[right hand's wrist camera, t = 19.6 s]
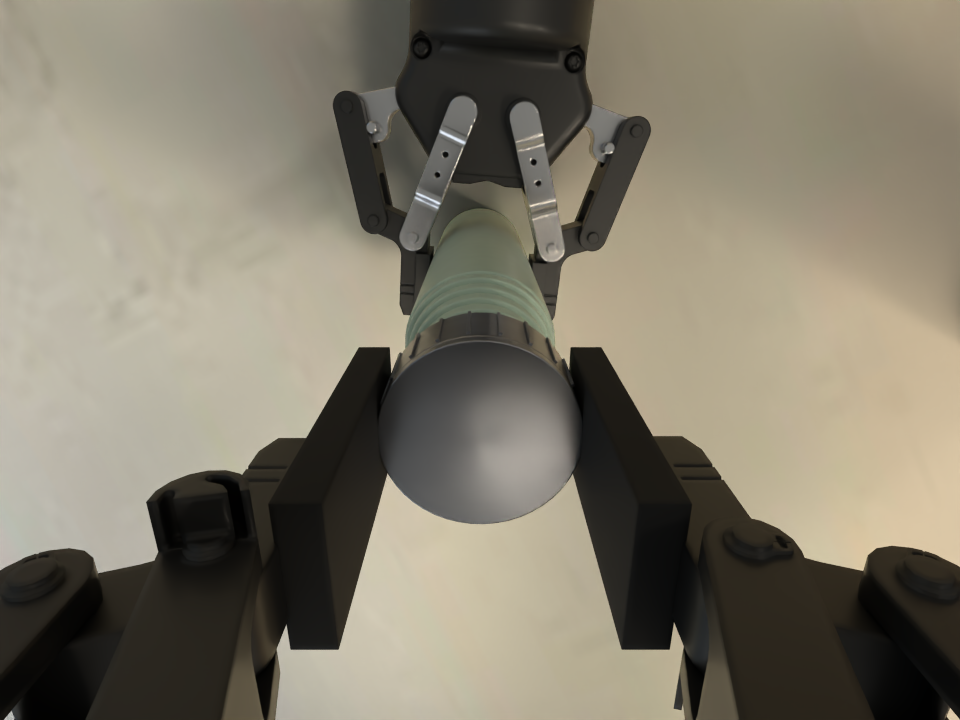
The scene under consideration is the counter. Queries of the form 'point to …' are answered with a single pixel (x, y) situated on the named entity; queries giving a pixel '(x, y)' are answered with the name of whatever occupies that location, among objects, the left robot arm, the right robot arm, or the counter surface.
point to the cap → (480, 419)
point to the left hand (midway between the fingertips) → (475, 325)
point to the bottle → (480, 276)
